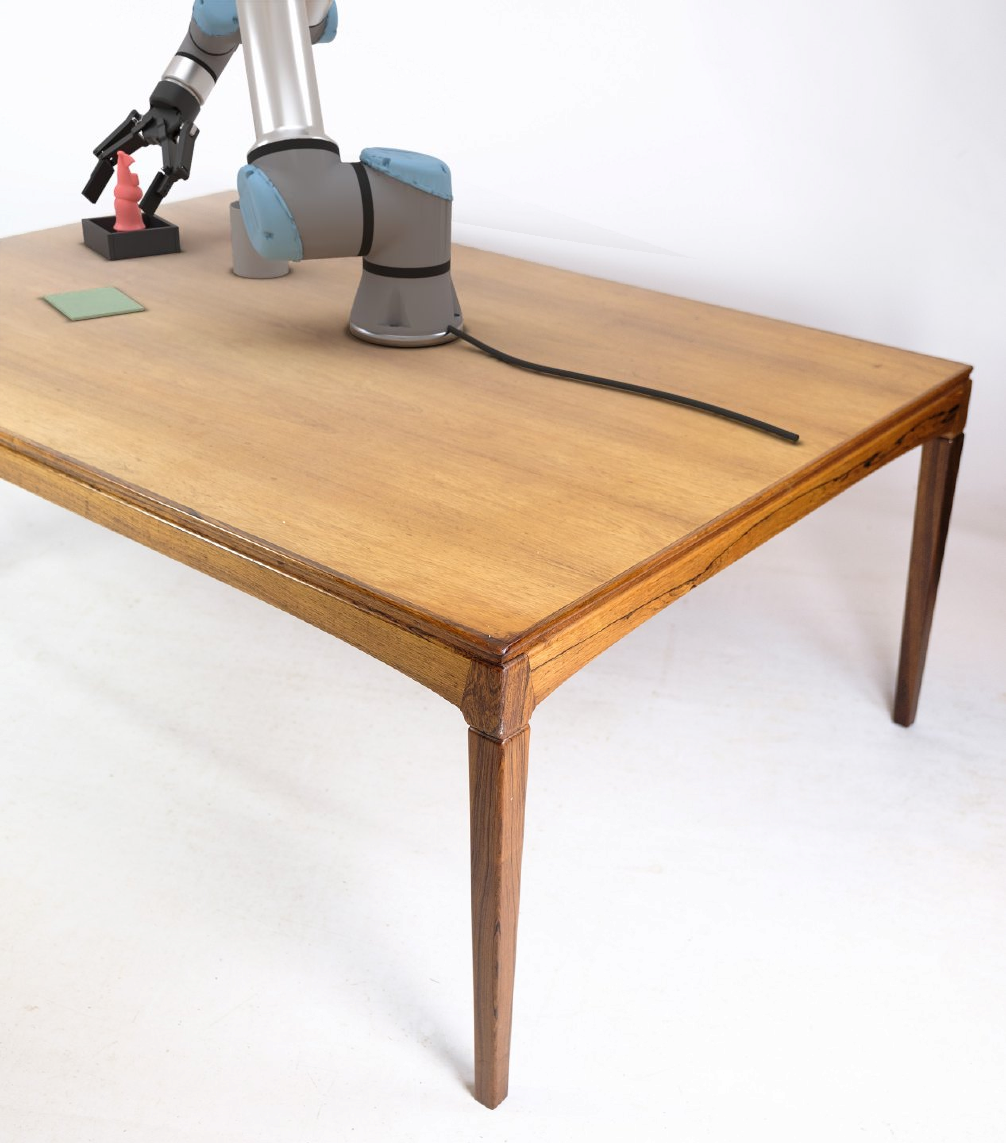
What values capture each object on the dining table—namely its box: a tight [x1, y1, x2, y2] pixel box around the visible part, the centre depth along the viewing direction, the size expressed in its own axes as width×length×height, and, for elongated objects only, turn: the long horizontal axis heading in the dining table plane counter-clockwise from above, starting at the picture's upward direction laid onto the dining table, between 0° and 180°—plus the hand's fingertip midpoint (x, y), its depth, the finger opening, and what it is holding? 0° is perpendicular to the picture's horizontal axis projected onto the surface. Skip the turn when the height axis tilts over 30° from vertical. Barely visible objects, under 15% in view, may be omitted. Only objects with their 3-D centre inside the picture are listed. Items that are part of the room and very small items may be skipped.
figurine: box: [113, 151, 146, 232], centre depth 204 cm, size 5×5×15 cm
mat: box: [42, 286, 145, 322], centre depth 180 cm, size 12×10×1 cm
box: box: [81, 212, 181, 261], centre depth 206 cm, size 12×12×4 cm
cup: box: [229, 199, 290, 279], centre depth 196 cm, size 8×8×10 cm
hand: (116, 205), depth 202 cm, fingers open, 12 cm apart
